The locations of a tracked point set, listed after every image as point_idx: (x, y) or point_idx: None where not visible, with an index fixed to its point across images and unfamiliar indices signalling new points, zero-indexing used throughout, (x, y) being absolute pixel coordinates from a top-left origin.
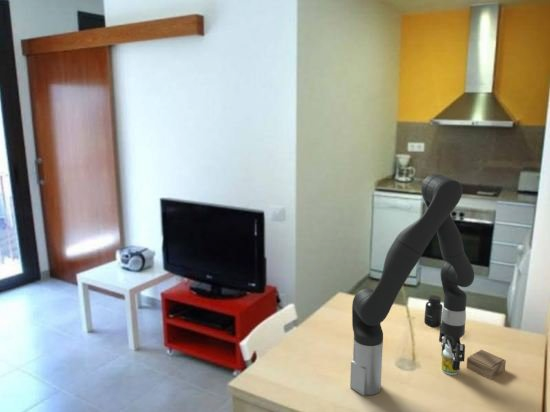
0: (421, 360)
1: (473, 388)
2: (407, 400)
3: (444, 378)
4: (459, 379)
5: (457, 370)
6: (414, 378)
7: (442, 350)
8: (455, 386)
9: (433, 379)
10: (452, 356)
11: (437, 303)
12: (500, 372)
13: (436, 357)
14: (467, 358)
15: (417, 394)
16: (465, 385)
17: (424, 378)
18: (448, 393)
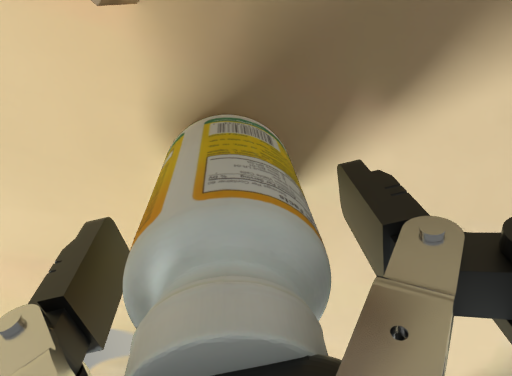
0: (125, 314)
1: (476, 31)
2: (494, 369)
3: (329, 217)
4: (342, 119)
5: (264, 131)
6: (331, 347)
7: (110, 315)
8: (427, 165)
9: (340, 274)
10: (329, 293)
11: None
12: None
13: (39, 231)
14: (104, 3)
15: (463, 340)
16: (426, 90)
17: (330, 311)
18: (490, 218)
